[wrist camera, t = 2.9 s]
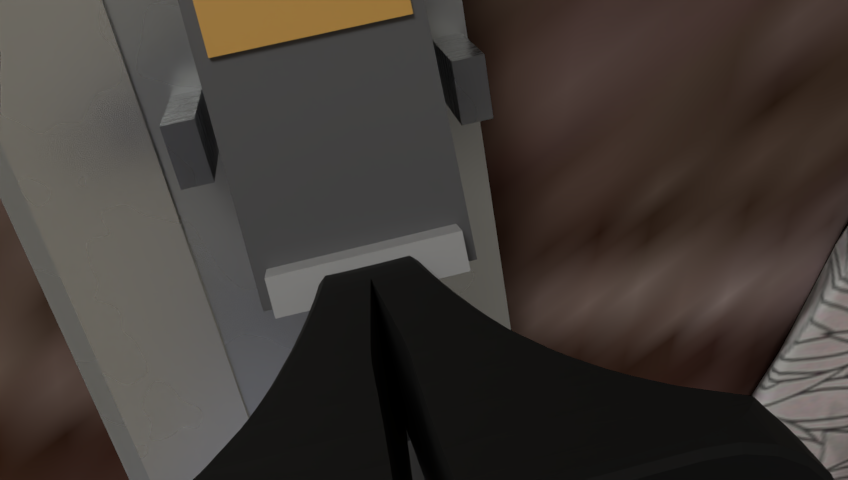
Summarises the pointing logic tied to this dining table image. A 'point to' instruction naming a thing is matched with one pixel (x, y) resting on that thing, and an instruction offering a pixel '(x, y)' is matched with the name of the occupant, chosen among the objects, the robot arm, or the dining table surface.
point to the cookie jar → (816, 368)
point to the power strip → (170, 219)
